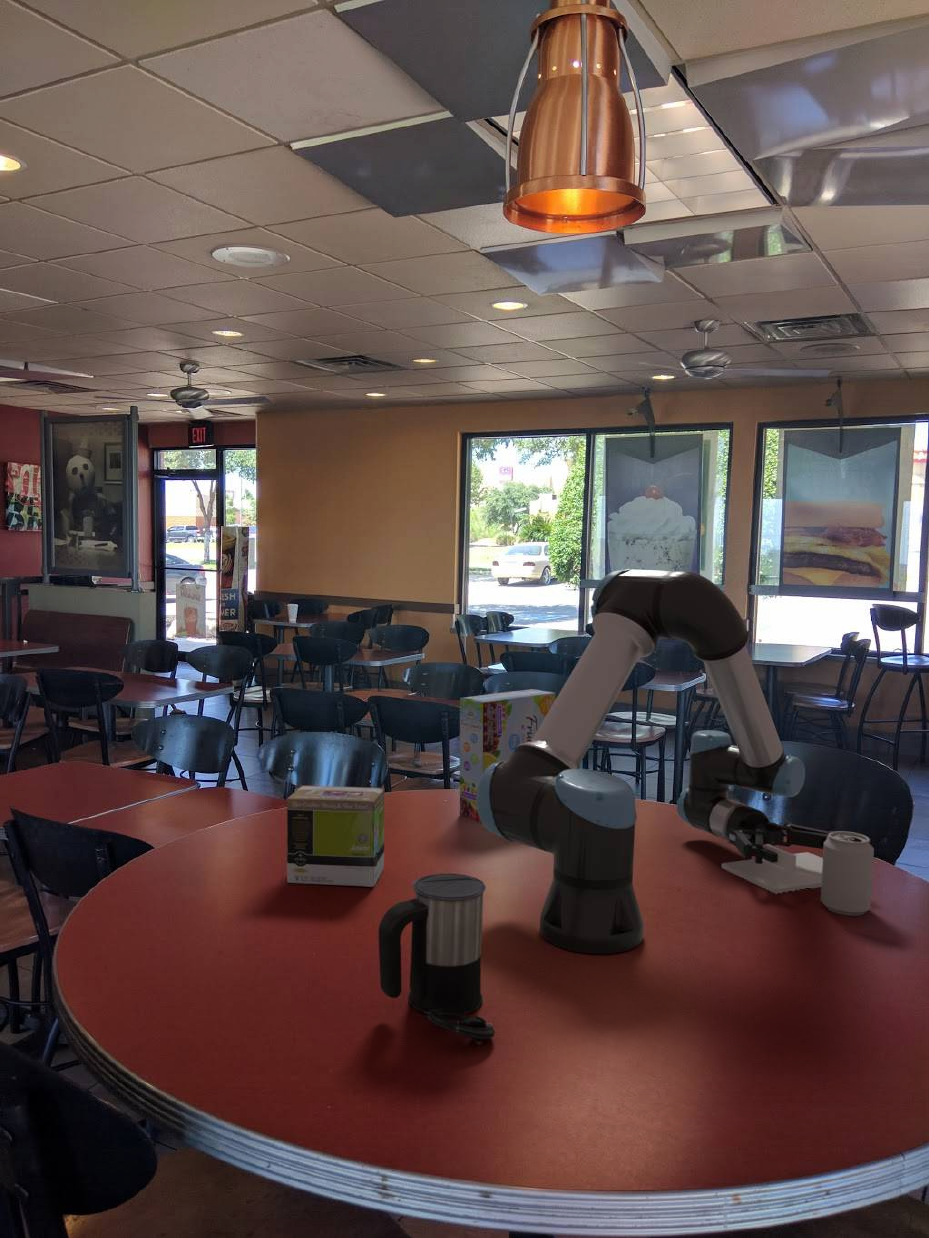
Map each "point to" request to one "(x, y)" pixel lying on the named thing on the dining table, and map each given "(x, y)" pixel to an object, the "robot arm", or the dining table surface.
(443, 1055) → the dining table surface
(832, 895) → the can
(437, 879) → the milk frother
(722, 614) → the robot arm
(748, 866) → the placemat
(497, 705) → the snack box
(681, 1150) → the dining table surface
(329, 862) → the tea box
